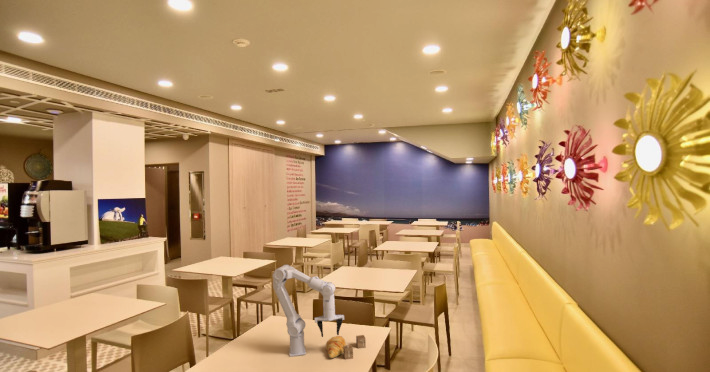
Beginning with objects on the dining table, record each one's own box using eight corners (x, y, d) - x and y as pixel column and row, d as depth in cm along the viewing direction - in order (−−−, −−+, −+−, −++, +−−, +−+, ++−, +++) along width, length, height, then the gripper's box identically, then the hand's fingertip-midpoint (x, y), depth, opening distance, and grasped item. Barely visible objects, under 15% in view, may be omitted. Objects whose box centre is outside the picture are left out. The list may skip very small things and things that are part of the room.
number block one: (343, 355, 180) (343, 345, 180) (351, 354, 181) (351, 344, 181) (345, 359, 176) (344, 349, 176) (353, 358, 177) (352, 348, 177)
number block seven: (356, 345, 191) (356, 335, 191) (363, 344, 192) (363, 334, 192) (358, 348, 187) (357, 338, 187) (365, 347, 188) (365, 338, 188)
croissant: (337, 367, 175) (344, 353, 175) (318, 357, 177) (325, 343, 176) (345, 347, 196) (352, 334, 196) (329, 338, 198) (335, 325, 197)
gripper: (314, 312, 176) (315, 340, 176) (344, 309, 179) (345, 336, 179) (313, 307, 183) (314, 334, 183) (342, 304, 186) (343, 331, 186)
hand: (330, 335), depth 182 cm, fingers open, 7 cm apart
